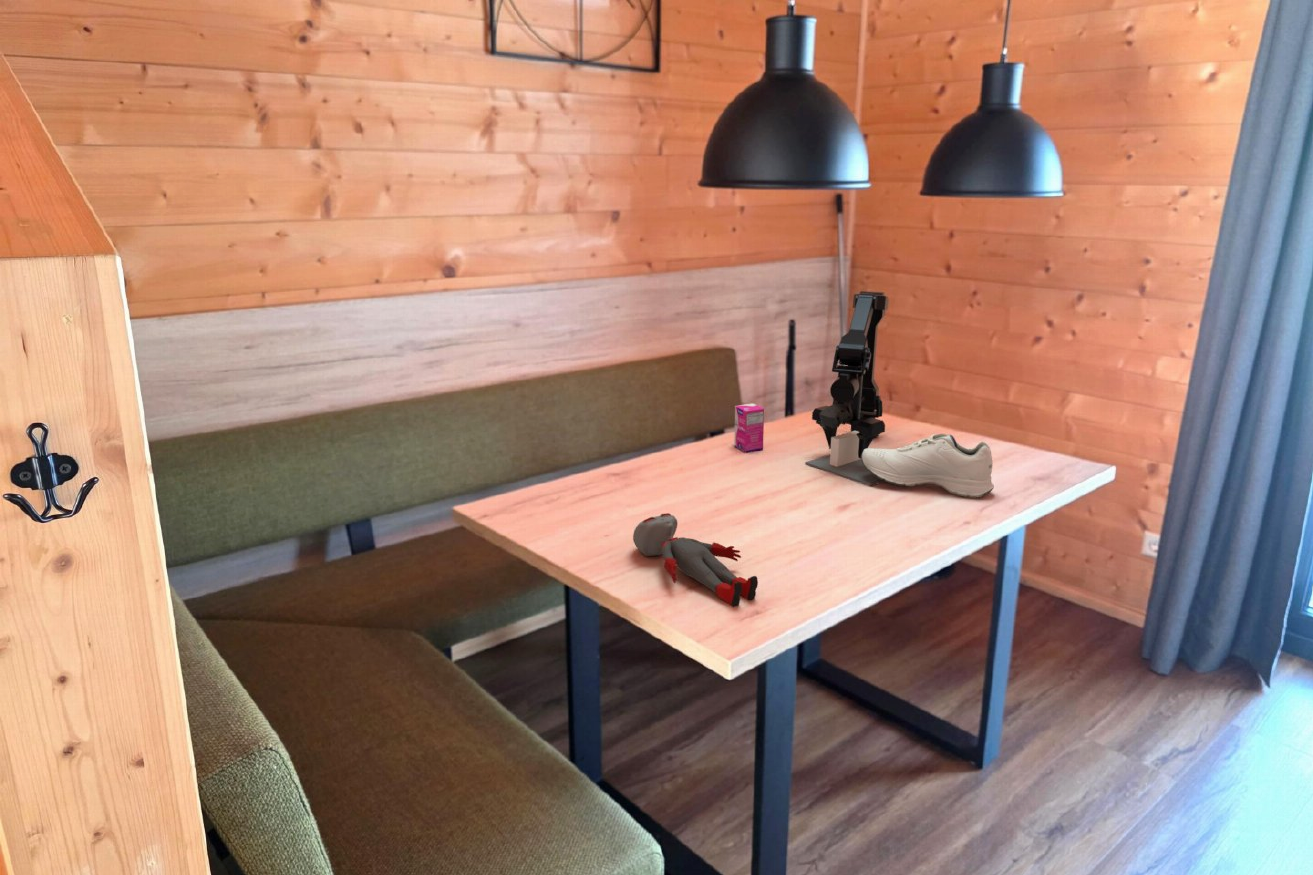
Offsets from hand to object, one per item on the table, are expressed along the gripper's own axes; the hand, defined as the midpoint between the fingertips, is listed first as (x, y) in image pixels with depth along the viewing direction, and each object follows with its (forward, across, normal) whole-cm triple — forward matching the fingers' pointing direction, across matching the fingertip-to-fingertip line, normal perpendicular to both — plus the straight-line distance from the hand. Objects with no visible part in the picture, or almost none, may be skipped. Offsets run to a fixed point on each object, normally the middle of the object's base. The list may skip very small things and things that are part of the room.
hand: (845, 453), depth 228 cm
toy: (+3, +22, -71) cm, 74 cm away
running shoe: (+3, +22, +2) cm, 22 cm away
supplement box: (+3, -24, -10) cm, 26 cm away
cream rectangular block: (+2, 0, 0) cm, 2 cm away
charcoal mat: (+3, +4, 0) cm, 5 cm away
